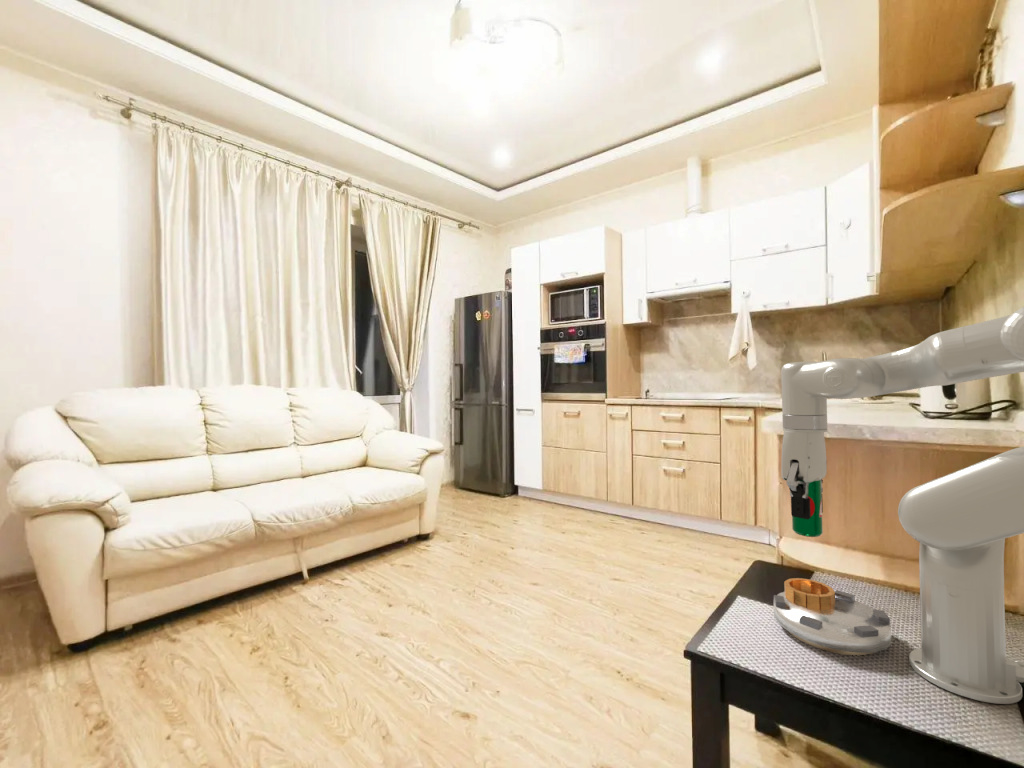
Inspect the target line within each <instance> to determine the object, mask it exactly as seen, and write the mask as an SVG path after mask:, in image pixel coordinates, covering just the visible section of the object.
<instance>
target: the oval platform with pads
mask: <svg viewBox="0 0 1024 768" xmlns="http://www.w3.org/2000/svg"><path fill="white" fill-rule="evenodd" d="M783 585H784V586H783V587H784V591H783V592H779V593H778V594H777V595H776V594H773V616H774V619H775V620H776V622H777V623H778V624H779V625H780V626H781V627H782V628H783V629H785V630H786V631H787V630H788V631H789V632H791V633H793V634H794V635H796V636H798V637H800V638H802V639H805V640H807V641H809V642H812V643H815V644H818V645H821V646H824V647H828V648H832V649H837V650H841V651H848V652H858V653H870V652H876V653H877V652H881V651H882V652H883V651H884V650H887V649H888V648H889V647H890V646H891V644H892V627H891V620H890V619H891V618H890V617H889V616H888V614H887V612H885V610H882V609H881V610H880V609H875V608H873V607H871V606H869V605H868V604H865V603H862V602H861V601H857V600H856V597H855V596H856V595H854V594H851V593H847V592H845V591H840V590H838V589H837V590H834V589H833V587H831V586H829V585H828V584H825V583H824V582H820V581H817V580H814V579H808V578H802V577H801V578H800V577H796V578H795V577H793V578H788V579H786V580H785V581H784V583H783ZM788 631H787V632H788ZM789 632H788V633H789Z"/></svg>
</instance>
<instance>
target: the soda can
mask: <svg viewBox="0 0 1024 768" xmlns="http://www.w3.org/2000/svg"><path fill="white" fill-rule="evenodd" d="M797 481H803V479H802V478H798V479H797ZM803 482H804V481H803ZM798 485H799V484H798ZM799 486H801V488H802V490H803V485H799ZM808 498H810V514H811V518H810V519H803V518H798V517H793V516H792V515H791V520H792V521H791V524H792V525H791V527H792V531H793V532H794V533H795V534H797V535H799V536H802V537H807V538H817V537H821V535H822V534H824V533H823V532H824V531H823V513H822V501H823V492H822V493H821V479H820V478H817V479H816V480H815V481H813V482H811V483H809V489H808Z"/></svg>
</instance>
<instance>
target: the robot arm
mask: <svg viewBox="0 0 1024 768" xmlns="http://www.w3.org/2000/svg"><path fill="white" fill-rule="evenodd" d="M780 371H781V372H780V373H781V374H780V379H781V383H780V384H781V409H782V410H781V411H782V413H781V414H782V431H783V435H782V444H781V445H782V446H781V462H780V463H781V469H780V470H781V475H780V476H781V478H782V480H784V481H786V482H785V483H786V485H787V486H788V489H789V496H790V509H791V517H792V516H793V517H798V518H803V519H810V518H811V514H810V498H808V489H809V483H811V482H813V481H815V480H816V479H817V478H820V479H821V493H822V494H823V491H824V490H823V489H824V488H823V483H824V481H823V479H824V478H825V477H826V476H827V473H828V472H827V469H828V467H827V460H828V459H827V449H826V439H825V433H828V432H829V429H828V405H827V404H828V402H827V401H828V400H827V398H828V399H834V400H835V399H836V400H847V399H849V400H852V399H863V398H871V397H875V396H876V397H877V396H884V395H887V394H888V395H889V394H893V393H894V394H895V393H900V392H904V391H905V392H906V391H911V390H917V389H923V388H928V387H939V386H941V387H942V386H950V385H955V384H961V383H967V382H973V381H978V380H979V381H980V380H984V379H990V378H994V377H996V378H997V377H1001V376H1007V375H1013V374H1019V373H1024V306H1023V307H1020V308H1018V310H1015V311H1014V312H1013V313H1011V314H1009V315H1005V316H1001V317H998V318H994V319H990V320H989V319H988V320H985V321H982V322H977V323H973V324H970V325H969V324H968V325H964V326H961V327H957V328H951V329H947V330H944V331H942V330H941V331H939V332H937V333H935V334H932V335H929V336H928V337H927V338H926V339H924V340H923V341H922V342H920V343H918V344H916V345H912V346H910V347H906V348H904V349H903V348H902V349H899V350H894V351H892V352H887V353H884V354H883V353H882V354H878V355H874V356H869V357H864V358H858V357H857V358H856V357H855V358H850V357H846V358H845V357H843V358H841V357H840V358H832V359H826V360H821V361H796V362H795V361H793V362H788V363H785V364H783V366H782V367H781V370H780ZM798 478H802V479H803V481H804V482H803V481H797V479H798ZM798 484H799V485H803V490H802V488H801V486H799V485H798ZM823 501H824V500H822V514H823V512H824V510H823V509H824V507H823ZM897 516H898V520H899V522H900V524H901V526H902V528H903V529H904V531H905V532H906V533H907V535H909V536H910V537H911V538H912V539H914V540H915V541H917V542H919V547H918V548H919V550H918V551H919V553H918V554H919V557H918V558H919V559H918V562H919V563H918V564H919V565H918V566H919V575H918V576H919V602H920V603H919V604H920V605H919V607H920V608H919V609H920V610H919V611H920V636H921V637H920V638H921V639H920V641H921V643H920V644H921V647H919V648H915V649H913V650H912V651H910V653H909V659H908V661H909V665H910V666H911V668H912V669H913V670H914V671H915V673H917V674H918V675H919V676H921V677H922V678H924V679H925V680H926V681H928V682H930V683H931V684H934V685H935V686H938V687H939V688H941V689H943V690H946V691H948V692H951V693H953V694H955V695H959V696H961V697H965V698H968V699H971V700H974V701H980V702H984V703H988V704H989V703H991V704H998V705H999V704H1000V705H1010V704H1015V703H1018V702H1020V701H1021V700H1022V699H1023V687H1022V684H1020V683H1024V660H1019V659H1010V658H1008V657H1007V649H1006V647H1007V646H1006V620H1005V619H1006V614H1005V613H1006V611H1005V610H1006V609H1005V546H1006V545H1005V544H1006V539H1008V538H1011V537H1014V536H1015V537H1016V536H1017V535H1022V534H1024V445H1023V446H1019V447H1016V448H1012V449H1009V450H1007V451H1004V452H1002V453H999V454H996V455H994V456H991V457H989V458H986V459H984V460H982V461H979V462H977V463H974V464H971V465H969V466H967V467H965V468H961V469H958V470H957V471H954V472H950V473H948V474H946V475H944V476H941V477H937V478H935V479H932V480H929V481H927V482H925V483H923V484H920V485H918V486H915V487H913V488H911V489H910V490H908V491H907V492H905V494H904V495H903V496H902V498H901V499H900V501H899V504H898V508H897Z"/></svg>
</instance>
